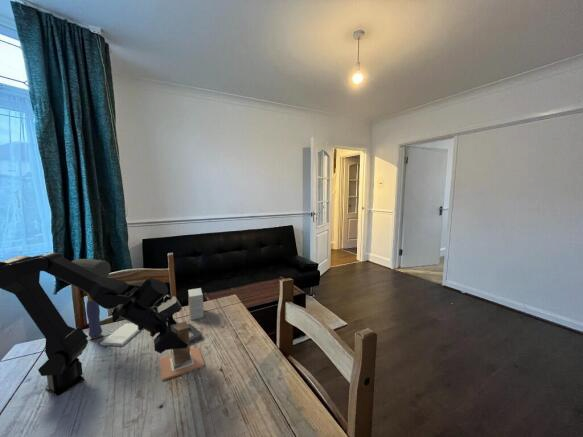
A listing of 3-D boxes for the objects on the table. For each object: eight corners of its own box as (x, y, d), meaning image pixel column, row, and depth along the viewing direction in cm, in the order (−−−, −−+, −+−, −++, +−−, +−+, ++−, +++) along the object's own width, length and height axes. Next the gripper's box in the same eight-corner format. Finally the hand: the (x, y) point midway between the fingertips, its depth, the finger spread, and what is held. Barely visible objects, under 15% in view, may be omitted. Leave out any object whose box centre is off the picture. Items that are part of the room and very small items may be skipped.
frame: (173, 350, 86) (173, 346, 86) (162, 337, 93) (162, 334, 93) (202, 337, 94) (202, 333, 93) (190, 326, 101) (189, 323, 100)
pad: (162, 380, 73) (162, 378, 73) (159, 360, 81) (159, 358, 81) (204, 365, 79) (204, 363, 79) (198, 348, 87) (198, 346, 87)
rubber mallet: (118, 332, 96) (112, 257, 92) (100, 345, 89) (92, 263, 85) (91, 329, 98) (84, 255, 94) (71, 340, 91) (62, 261, 87)
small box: (188, 311, 113) (187, 289, 111) (202, 309, 115) (201, 287, 114) (189, 320, 105) (188, 296, 104) (203, 317, 108) (202, 294, 106)
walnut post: (174, 369, 77) (171, 332, 75) (172, 359, 81) (170, 324, 79) (191, 362, 79) (190, 327, 78) (189, 353, 84) (187, 320, 82)
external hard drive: (144, 327, 101) (122, 347, 88) (125, 326, 101) (100, 346, 89) (144, 324, 100) (121, 343, 88) (125, 323, 101) (100, 342, 89)
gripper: (166, 305, 67) (209, 331, 74) (160, 281, 83) (196, 305, 90) (133, 341, 64) (182, 365, 71) (134, 310, 80) (174, 332, 87)
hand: (184, 338), depth 80 cm, fingers open, 9 cm apart
